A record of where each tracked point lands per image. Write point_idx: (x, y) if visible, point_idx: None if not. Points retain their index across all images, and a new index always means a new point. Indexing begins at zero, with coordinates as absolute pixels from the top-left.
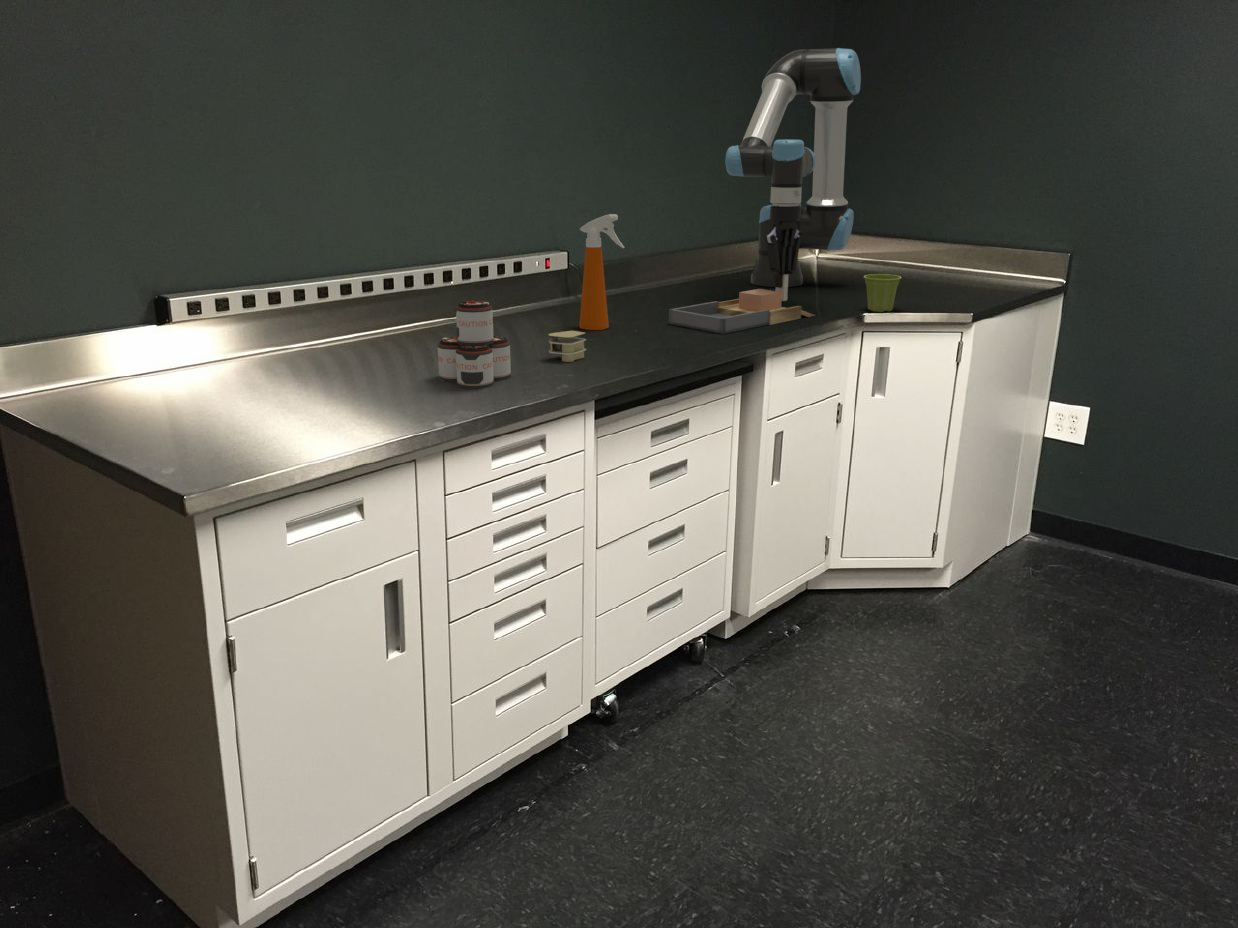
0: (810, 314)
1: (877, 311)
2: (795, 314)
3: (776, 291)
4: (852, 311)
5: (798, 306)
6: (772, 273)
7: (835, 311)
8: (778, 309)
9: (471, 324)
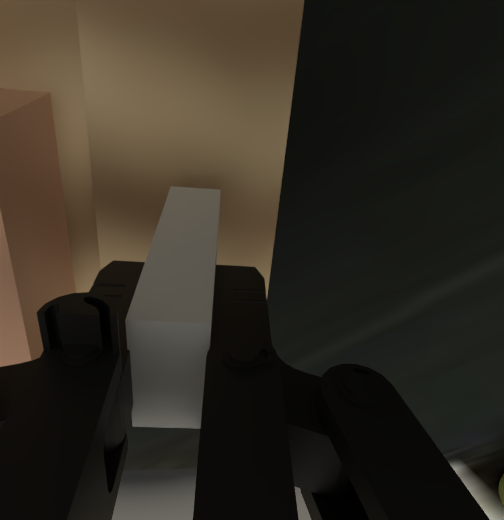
0: None
1: (499, 488)
2: None
3: (10, 332)
4: (467, 423)
5: None
6: (68, 297)
7: (425, 379)
8: None
9: None
